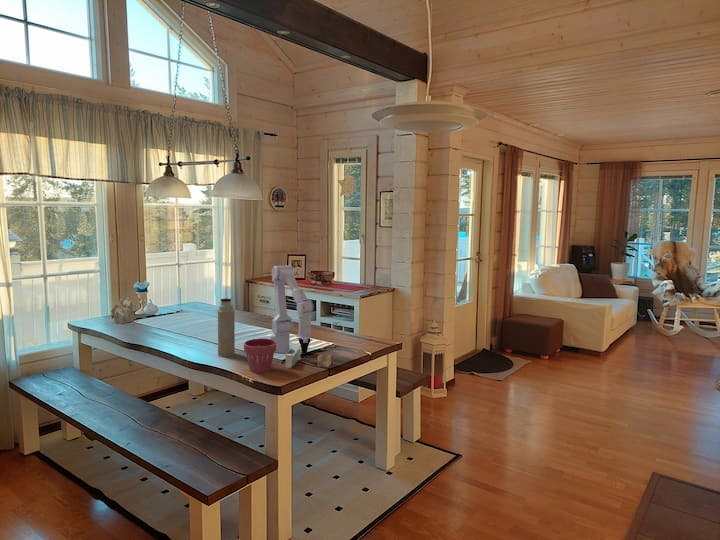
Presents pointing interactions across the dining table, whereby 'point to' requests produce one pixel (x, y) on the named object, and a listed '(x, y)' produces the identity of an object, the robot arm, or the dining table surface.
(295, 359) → the gate
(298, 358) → the gate post
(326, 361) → the block
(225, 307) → the thermos bottle
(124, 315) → the grey rough lump
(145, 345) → the dining table surface
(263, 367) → the plant pot
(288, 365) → the latch stile
